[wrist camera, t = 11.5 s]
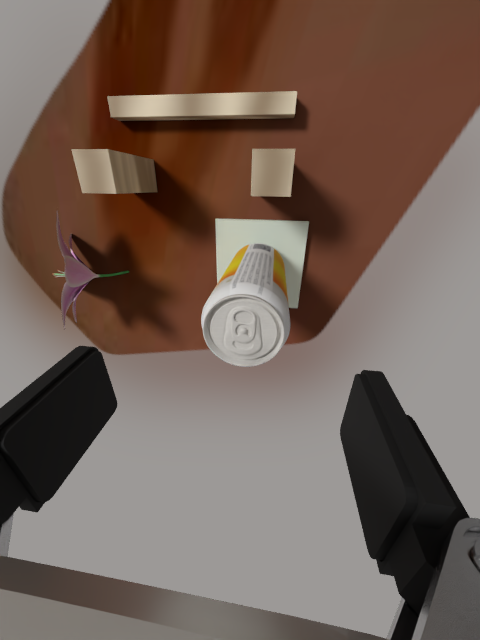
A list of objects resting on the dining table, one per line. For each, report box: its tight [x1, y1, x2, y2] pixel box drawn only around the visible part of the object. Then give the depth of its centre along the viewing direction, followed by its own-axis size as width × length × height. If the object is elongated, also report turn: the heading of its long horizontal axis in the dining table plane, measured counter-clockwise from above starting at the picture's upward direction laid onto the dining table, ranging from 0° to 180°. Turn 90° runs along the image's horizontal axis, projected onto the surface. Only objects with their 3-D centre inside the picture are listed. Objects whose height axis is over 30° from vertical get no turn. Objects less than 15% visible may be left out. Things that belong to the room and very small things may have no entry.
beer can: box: [201, 243, 290, 367], centre depth 23 cm, size 6×6×15 cm
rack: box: [72, 91, 297, 197], centre depth 22 cm, size 17×8×8 cm, turn 89°
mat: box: [215, 218, 309, 308], centre depth 29 cm, size 10×10×1 cm
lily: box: [52, 210, 129, 329], centre depth 29 cm, size 12×12×10 cm
